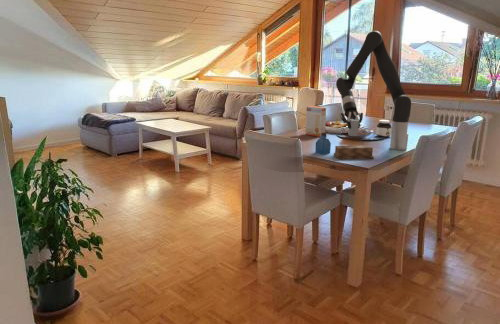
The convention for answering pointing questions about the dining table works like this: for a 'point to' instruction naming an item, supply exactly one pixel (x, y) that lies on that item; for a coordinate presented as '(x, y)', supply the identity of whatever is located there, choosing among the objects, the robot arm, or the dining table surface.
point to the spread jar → (383, 128)
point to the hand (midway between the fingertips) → (354, 127)
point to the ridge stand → (353, 152)
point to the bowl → (334, 127)
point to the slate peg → (353, 127)
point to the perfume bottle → (323, 145)
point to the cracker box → (315, 120)
